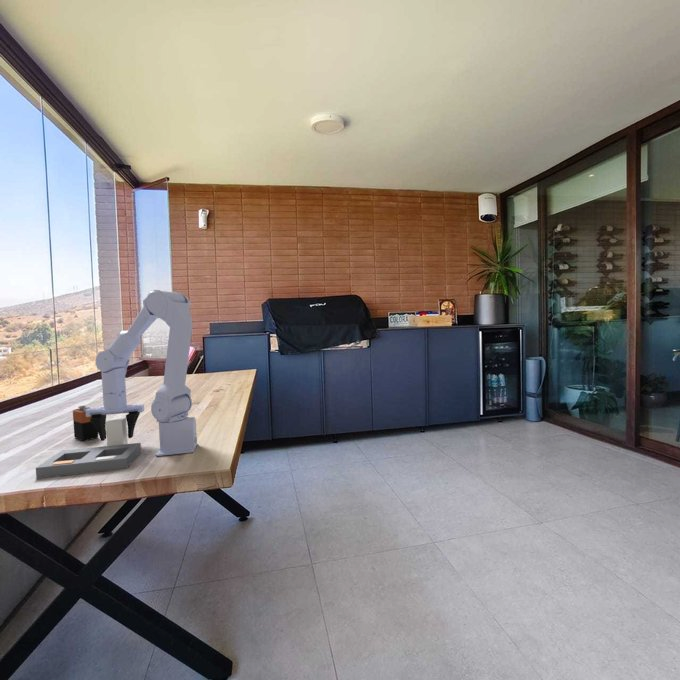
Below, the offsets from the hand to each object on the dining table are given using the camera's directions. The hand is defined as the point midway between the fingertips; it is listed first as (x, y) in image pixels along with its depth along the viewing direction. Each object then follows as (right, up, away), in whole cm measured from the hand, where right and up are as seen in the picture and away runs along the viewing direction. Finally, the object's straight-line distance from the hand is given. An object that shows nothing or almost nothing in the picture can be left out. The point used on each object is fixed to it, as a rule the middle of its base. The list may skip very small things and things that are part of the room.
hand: (117, 438), depth 105 cm
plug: (0, -2, 0) cm, 2 cm away
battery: (-16, -3, +10) cm, 19 cm away
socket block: (+2, -3, -13) cm, 13 cm away
